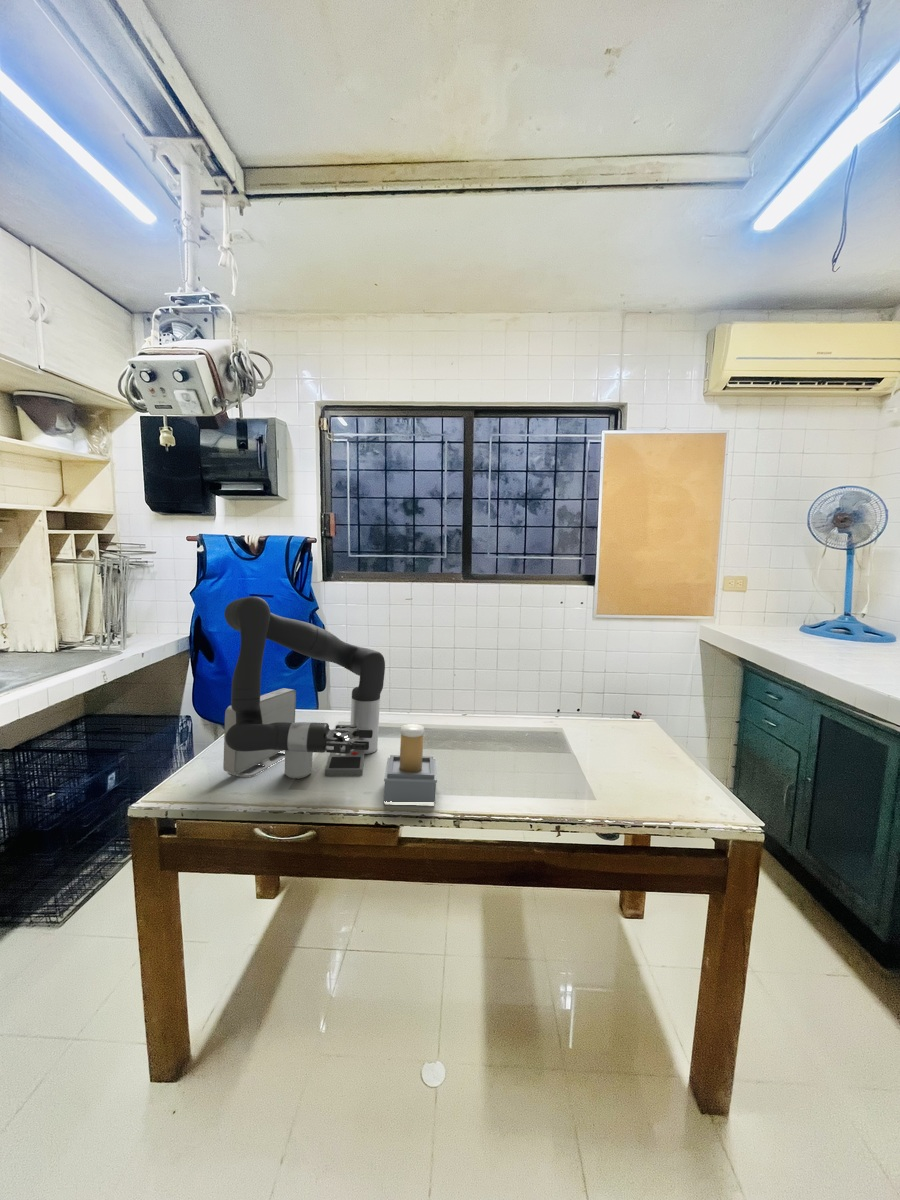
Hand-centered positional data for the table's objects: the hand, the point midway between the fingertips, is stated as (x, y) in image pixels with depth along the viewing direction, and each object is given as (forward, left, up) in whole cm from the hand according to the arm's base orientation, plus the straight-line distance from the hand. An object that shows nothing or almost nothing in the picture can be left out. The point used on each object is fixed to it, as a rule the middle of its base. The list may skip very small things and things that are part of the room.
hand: (370, 739), depth 123 cm
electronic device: (-17, -9, -15) cm, 25 cm away
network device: (-16, -34, -15) cm, 40 cm away
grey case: (0, +11, -14) cm, 18 cm away
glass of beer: (0, +11, -7) cm, 13 cm away
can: (-10, -21, -15) cm, 27 cm away
